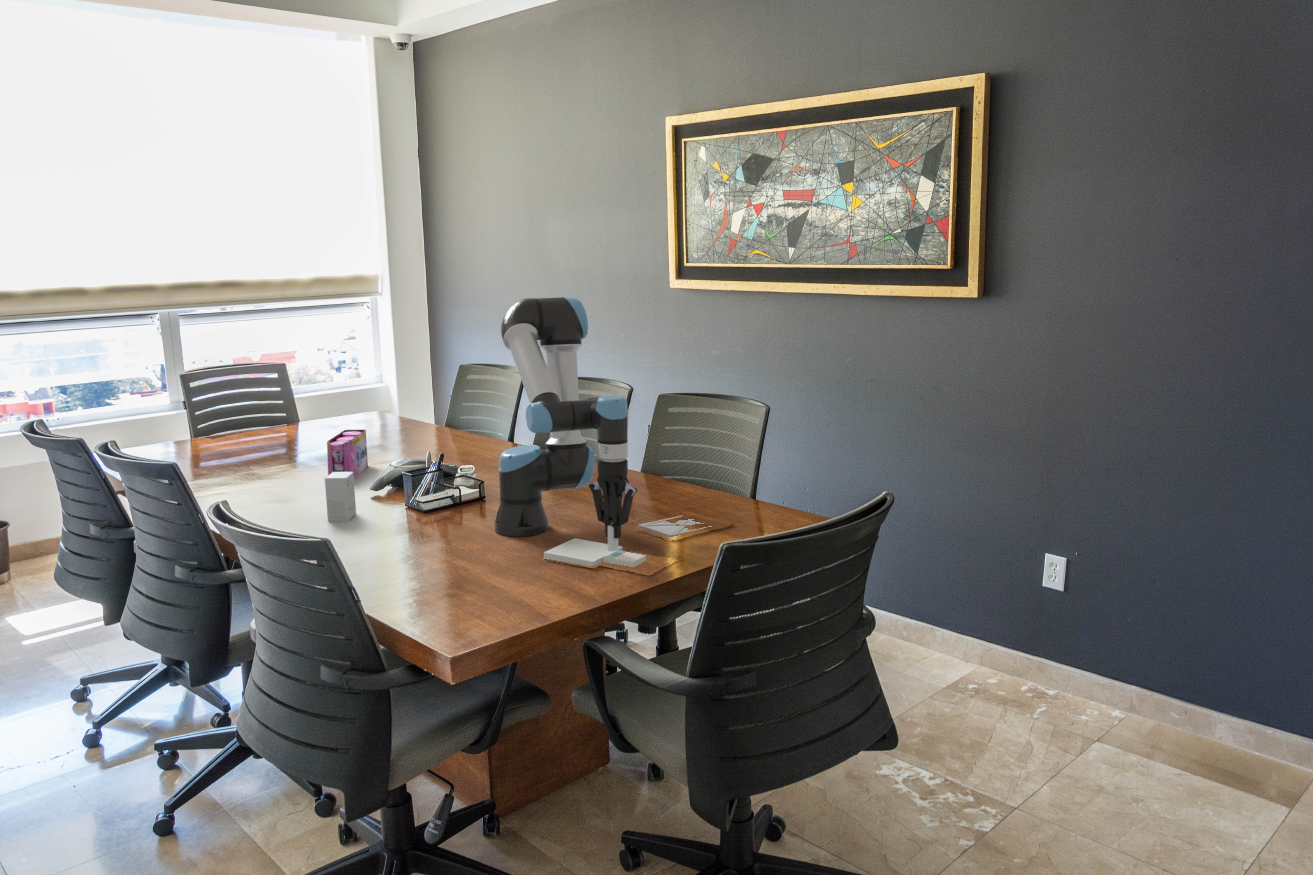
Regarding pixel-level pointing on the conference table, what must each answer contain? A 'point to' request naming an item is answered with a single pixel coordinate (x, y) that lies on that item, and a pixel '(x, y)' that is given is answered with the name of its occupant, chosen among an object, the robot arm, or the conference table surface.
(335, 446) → the gum box
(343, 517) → the small box
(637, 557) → the card
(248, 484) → the conference table surface
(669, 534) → the envelope
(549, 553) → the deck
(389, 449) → the conference table surface
